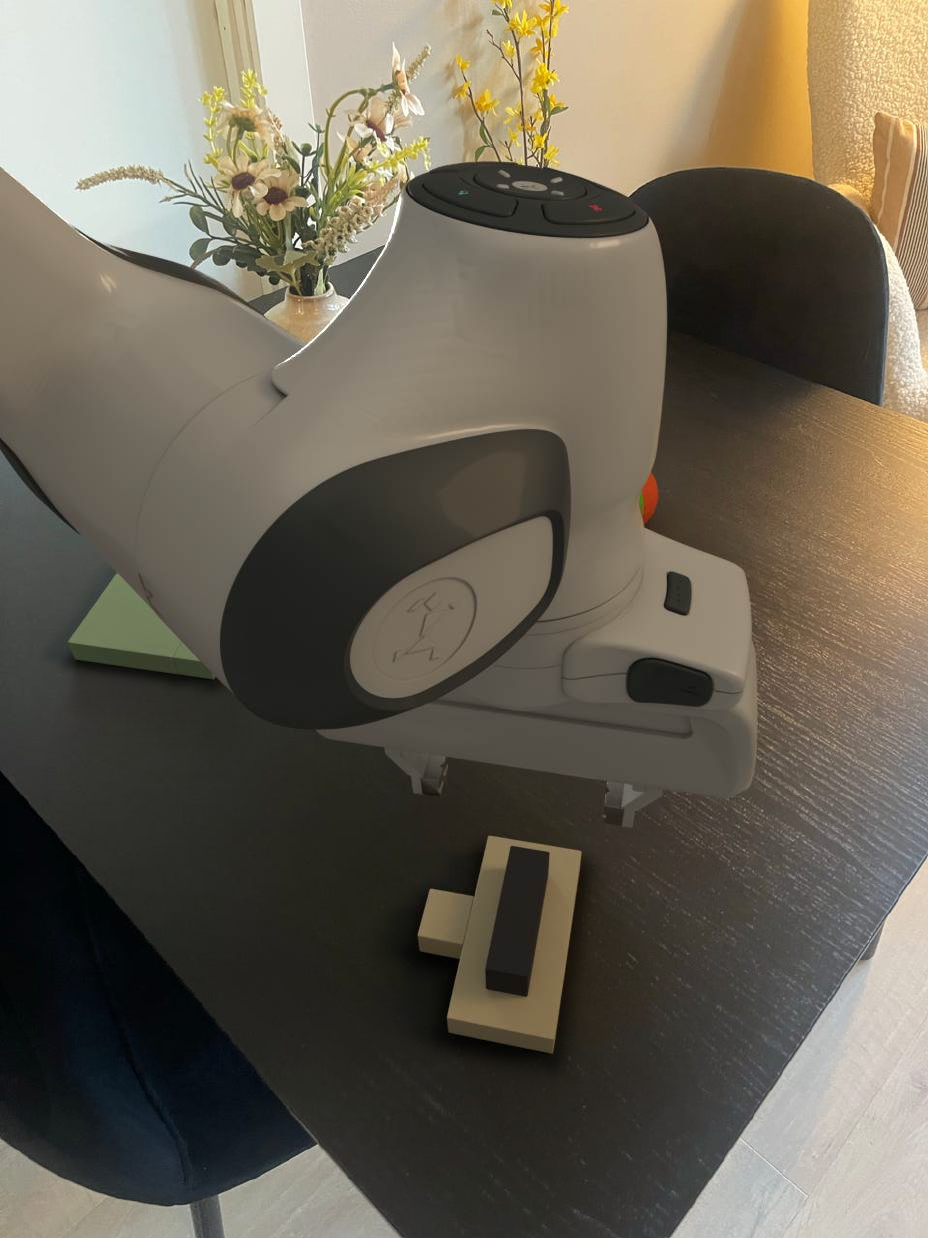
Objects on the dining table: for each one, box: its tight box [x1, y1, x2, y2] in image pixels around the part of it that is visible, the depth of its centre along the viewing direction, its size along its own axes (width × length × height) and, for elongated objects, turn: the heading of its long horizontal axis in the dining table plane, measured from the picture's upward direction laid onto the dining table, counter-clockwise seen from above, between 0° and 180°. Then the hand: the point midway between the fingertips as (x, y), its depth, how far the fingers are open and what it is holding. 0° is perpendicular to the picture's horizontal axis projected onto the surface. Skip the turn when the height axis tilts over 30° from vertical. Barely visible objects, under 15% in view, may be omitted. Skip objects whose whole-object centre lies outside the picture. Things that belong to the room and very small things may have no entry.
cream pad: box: [417, 835, 582, 1054], centre depth 56 cm, size 12×9×4 cm
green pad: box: [67, 572, 217, 680], centre depth 79 cm, size 12×12×2 cm
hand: (523, 799), depth 47 cm, fingers open, 8 cm apart
